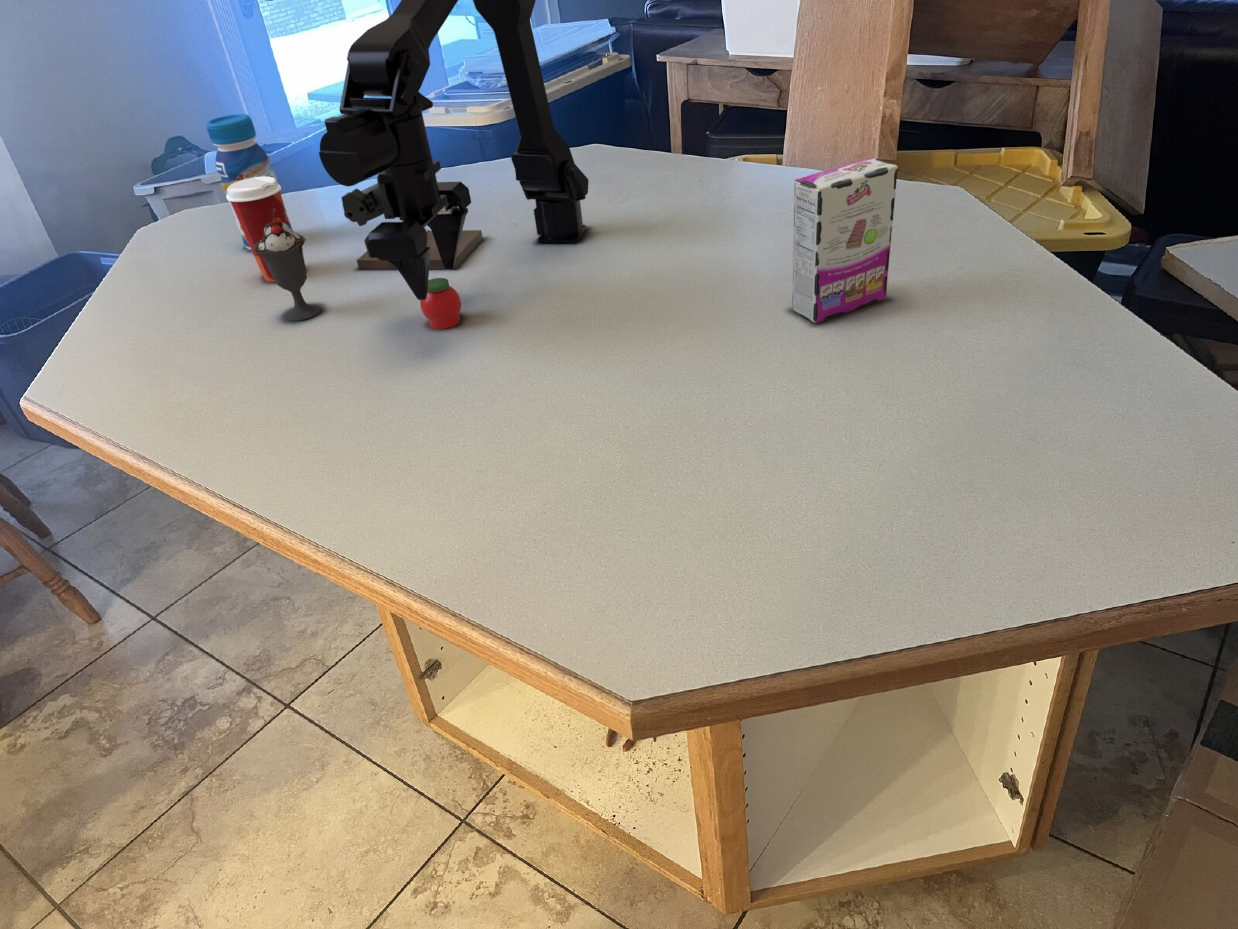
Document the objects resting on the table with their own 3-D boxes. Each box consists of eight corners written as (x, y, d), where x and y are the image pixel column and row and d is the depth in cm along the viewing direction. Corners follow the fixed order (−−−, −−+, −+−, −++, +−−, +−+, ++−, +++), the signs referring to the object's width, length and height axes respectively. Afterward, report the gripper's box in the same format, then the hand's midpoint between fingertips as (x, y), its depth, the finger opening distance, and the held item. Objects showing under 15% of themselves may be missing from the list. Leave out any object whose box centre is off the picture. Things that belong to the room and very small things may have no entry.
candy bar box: (859, 286, 105) (871, 155, 96) (886, 300, 102) (901, 164, 92) (788, 310, 102) (793, 176, 92) (814, 325, 98) (821, 187, 88)
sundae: (313, 324, 111) (276, 215, 102) (269, 323, 112) (229, 215, 104) (336, 302, 116) (303, 197, 107) (294, 302, 118) (257, 198, 109)
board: (483, 238, 132) (481, 228, 131) (456, 269, 122) (453, 258, 121) (391, 239, 135) (389, 229, 134) (358, 269, 126) (355, 258, 125)
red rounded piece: (470, 313, 109) (462, 274, 106) (456, 331, 105) (447, 291, 102) (434, 312, 110) (424, 274, 107) (418, 330, 106) (408, 291, 103)
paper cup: (318, 266, 128) (289, 176, 120) (283, 287, 123) (250, 193, 114) (281, 262, 131) (250, 173, 123) (245, 282, 126) (210, 190, 117)
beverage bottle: (292, 230, 144) (252, 108, 132) (299, 244, 137) (258, 118, 125) (242, 241, 141) (197, 118, 129) (247, 256, 135) (199, 129, 123)
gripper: (378, 138, 105) (407, 255, 114) (304, 186, 90) (345, 315, 99) (460, 135, 102) (483, 254, 111) (397, 183, 88) (430, 317, 97)
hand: (436, 283), depth 105 cm, fingers open, 9 cm apart
